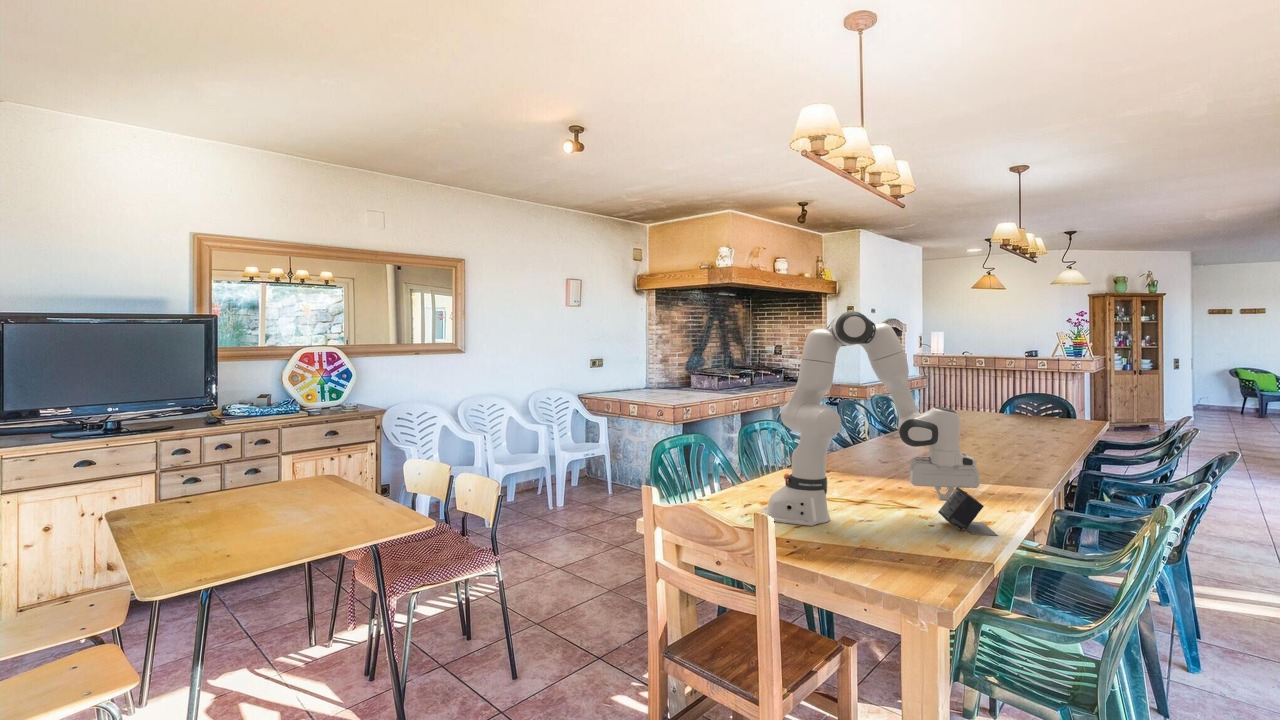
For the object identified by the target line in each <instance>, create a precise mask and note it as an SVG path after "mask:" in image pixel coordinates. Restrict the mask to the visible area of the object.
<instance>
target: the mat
mask: <svg viewBox="0 0 1280 720" xmlns="http://www.w3.org/2000/svg"><path fill="white" fill-rule="evenodd" d="M965 531H967V532H968V533H970V535H976V536H994V537H998V536H999V534H997V533H996V532H995V531H994V530H993V529H991V528H990V527H989V526H988V525H986V524H985V523H984V522H983V521H972V522H971V523H970V525H969V526H968V527H967V529H966V530H965Z"/></svg>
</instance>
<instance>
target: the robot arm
mask: <svg viewBox="0 0 1280 720" xmlns="http://www.w3.org/2000/svg"><path fill="white" fill-rule="evenodd" d="M855 345H859V346H861V347H862V348H863V349H864V350H865V352H866V355H867V357H868V360H869V363H870V365H871V368H872V370H873V371H874V373H875V375H876V377H877V379H878V380H879V382H881V383H882V384H883V385H884V386H885V387H886V389H887V390H888V392H889V394H890V396H891V399H892V402H893V404H894V407H895V409H896V413H897V425H896V426H897V431H898V435H899V437H900V439H901V441H902V442H903V443H905V444H906V445H907V446H910V447H914V448H917V447H926V446H929V448H928V449H929V453H928V454H929V456H924V457H923V456H922V457H920V456H914V458H911V459H910V461H909V469H910V473H909V474H910V475H909V482H910V483H911V484H912V485H913V486H915V487H934V490H935V492H936V493H937V499H938V501H945V502H946V501H949V497H950V496H951V495H952V494H953V492H954V488H960V489H962V488H963V489H964V488H965V489H978V488H979V487H980V485H981V484H980V483H981V477H980V472H979V469H978V468H977V467H976V466H977V459H975V458H974V457H972V456H970V455H967V454H965V453H962V452H961V447H960V438H961V419H960V415H959V414H958V413H957V412H956V411H955V410H954V409H951V408H949V407H944V406H933V407H932V408H930V409H928V410H927V411H925V412H920V410H919V409H918V407H917V405H916V402H915V400H914V397H913V394H912V392H911V388H910V386H909V365H908V364H909V363H908V359H907V355H906V353H905V350H904V348H903V345H902V343H901V341H900V339H899V337H898V335H897V333H896V331H895V330H894V328H893V327H892V326H891V325H890V324H889V323H882V322H881V323H875V322H873V321H872V320H871V319H869V318H868V317H867V316H866V315H864V314H863V313H861V312H858V311H854V310H852V311H851V310H850V311H846V312H842V313H841V314H839V315H838V316H836V317H835V318H834V319H833V320H832V321H830V324H829V325H828V326H827V327H826V328H816V329H812V330H811V331H810V332H809V333H808V334H807V337H806V339H805V342H804V345H803V349H802V354H801V360H800V366H799V371H798V372H799V373H798V378H797V382H796V386H795V388H794V390H793V392H792V395H791V397H790V399H789V400H788V401H787V402H786V403H785V404H784V405H783V407H782V408H781V411H780V420H781V423H782V424H783V426H786V427H787V429H790V431H793V432H796V433H799V434H800V437H799V442H798V444H797V447H796V448H794V449H793V451H792V454H791V474H789V473H784V474H783V479H784V480H785V485H784V486H783V487H780V489H778V490H777V491H775V492H773V494H771V495H770V497H769V500H768V503H767V506H766V507H764V508H762V509H761V514H762V513H765V514H767V515H769V516H771V517H772V518H774V520H775V522H774V523H776V522H777V523H785V524H792V525H801V526H809V527H810V526H811V527H813V526H816V525H819V524H824V523H827V522H829V521H831V517H830V513H829V509H828V503H827V494H828V493H827V492H828V477H827V474H826V473H827V471H826V470H827V456H828V450H829V448H830V445H831V441H832V440H833V438H834V437H836V435H838V433H839V432H840V429H841V426H842V419H841V416H840V414H839V413H838V412H837V411H836V410H835V409H833V408H832V407H830V406H827V405H825V404H821V402H822V400H823V398H824V396H825V395H826V393H827V392H828V391H829V390H830V389H831V388H832V386H833V382H834V374H835V367H836V362H837V361H836V360H837V354H838V352H839V350H840V348H841V347H848V346H851V347H852V346H855ZM942 488H946V490H947V491H946V493H941V491H942Z"/></svg>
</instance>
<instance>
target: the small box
mask: <svg viewBox="0 0 1280 720" xmlns="http://www.w3.org/2000/svg"><path fill="white" fill-rule="evenodd" d="M984 507H985V506H984V505H983V504H982V503H981V502H979V501H978V500H977V499H976V498H975V497H974V496H971V494H969V493H968V492H966V491H964V490H963V489H962V488H957V487H955V489H954V490H953V492H952V493H951V495H950V497H949V501H945V502H944V503H943V505H942V506H941V508H939V510H938V514H939V515H940V516H942V518H944V519H945V521H946V522H948V523H949V524H951V525H952V526H953V527H955V528H957V529H959V530H960V531H962V532H963V533H965V531H967V530H966V529H967V527H968V526H969V525H970V523H971V522H974V520H975V519H976V518H977V516H978V515H979V513H981V511H982V509H983V508H984Z"/></svg>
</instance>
